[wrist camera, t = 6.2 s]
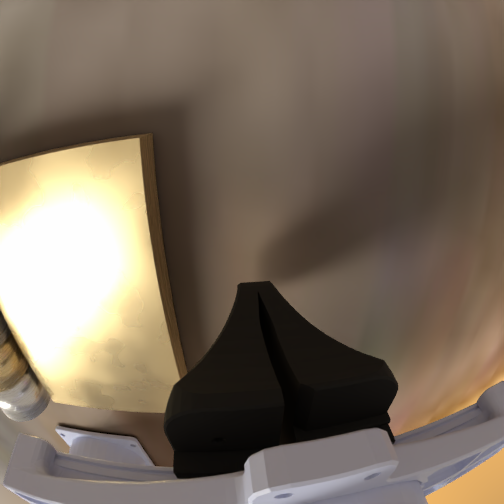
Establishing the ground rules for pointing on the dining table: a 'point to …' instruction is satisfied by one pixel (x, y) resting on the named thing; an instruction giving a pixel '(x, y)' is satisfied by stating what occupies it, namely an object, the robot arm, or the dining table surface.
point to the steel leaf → (22, 390)
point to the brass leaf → (88, 277)
